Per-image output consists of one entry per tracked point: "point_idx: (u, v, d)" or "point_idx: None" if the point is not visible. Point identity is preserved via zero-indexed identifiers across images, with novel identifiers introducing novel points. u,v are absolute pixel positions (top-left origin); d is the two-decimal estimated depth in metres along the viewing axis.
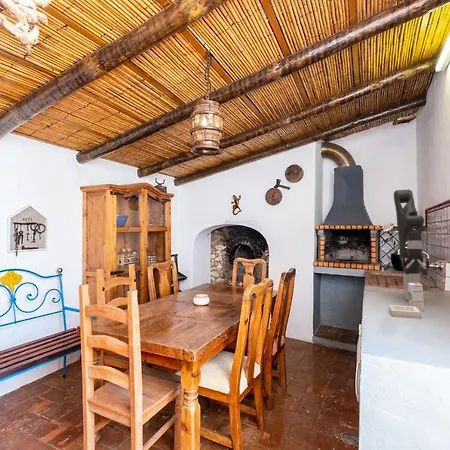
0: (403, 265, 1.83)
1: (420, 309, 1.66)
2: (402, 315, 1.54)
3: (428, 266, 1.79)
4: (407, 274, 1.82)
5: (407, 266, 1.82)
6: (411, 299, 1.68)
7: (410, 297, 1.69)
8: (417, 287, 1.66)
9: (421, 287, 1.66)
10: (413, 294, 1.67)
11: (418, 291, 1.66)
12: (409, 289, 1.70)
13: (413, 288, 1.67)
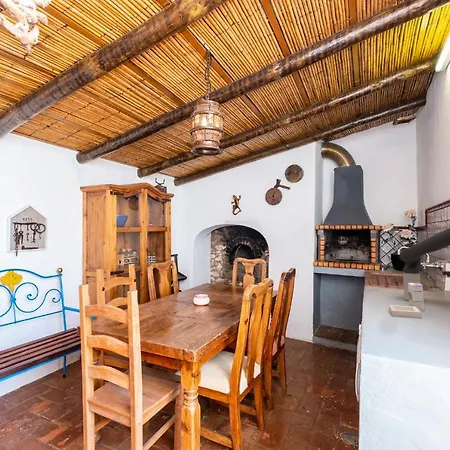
0: None
1: (420, 309, 1.66)
2: (402, 315, 1.54)
3: None
4: None
5: None
6: (411, 299, 1.68)
7: (410, 297, 1.69)
8: (417, 287, 1.66)
9: (421, 287, 1.66)
10: (413, 294, 1.67)
11: (418, 291, 1.66)
12: (409, 289, 1.70)
13: (413, 288, 1.67)
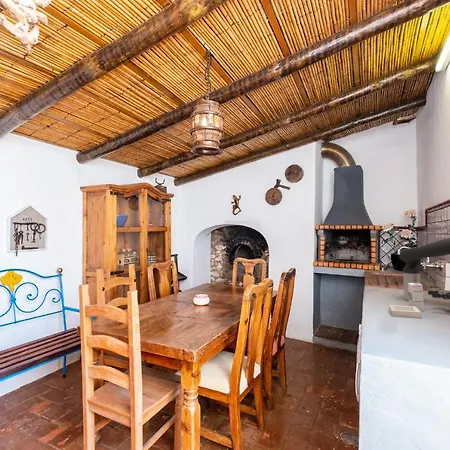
0: None
1: (420, 309, 1.66)
2: (402, 315, 1.54)
3: None
4: None
5: None
6: (411, 299, 1.68)
7: (410, 297, 1.69)
8: (417, 287, 1.66)
9: (421, 287, 1.66)
10: (413, 294, 1.67)
11: (418, 291, 1.66)
12: (409, 289, 1.70)
13: (413, 288, 1.67)
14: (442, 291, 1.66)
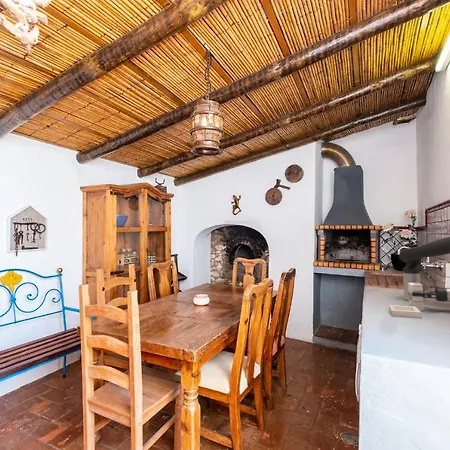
0: None
1: (420, 309, 1.66)
2: (402, 315, 1.54)
3: None
4: None
5: (423, 296, 1.64)
6: (411, 299, 1.68)
7: (410, 297, 1.69)
8: (417, 287, 1.66)
9: (421, 287, 1.66)
10: None
11: (418, 291, 1.66)
12: (409, 289, 1.70)
13: (413, 288, 1.67)
14: (423, 290, 1.69)
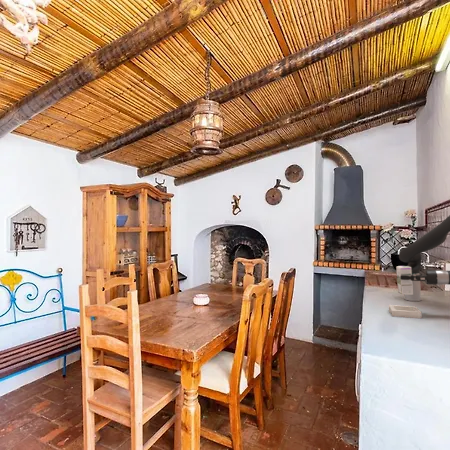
0: (414, 280, 1.53)
1: (409, 293, 1.57)
2: (402, 315, 1.54)
3: None
4: (401, 279, 1.57)
5: None
6: (400, 283, 1.59)
7: (399, 281, 1.60)
8: (406, 270, 1.58)
9: (410, 270, 1.57)
10: None
11: (407, 274, 1.57)
12: (397, 272, 1.61)
13: (401, 271, 1.58)
14: (413, 273, 1.60)
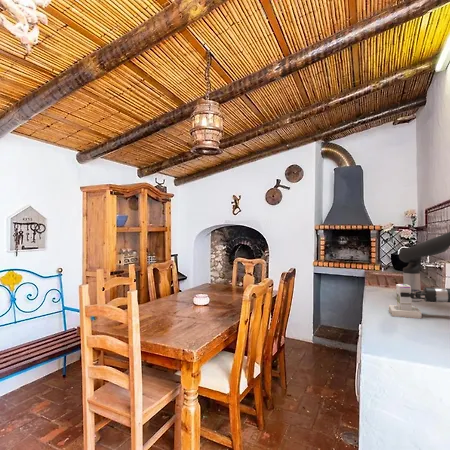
0: None
1: None
2: (402, 315, 1.54)
3: None
4: (401, 296, 1.56)
5: None
6: (399, 301, 1.58)
7: (398, 299, 1.60)
8: (405, 289, 1.57)
9: (409, 289, 1.56)
10: None
11: None
12: (397, 291, 1.61)
13: (401, 290, 1.57)
14: (412, 290, 1.60)
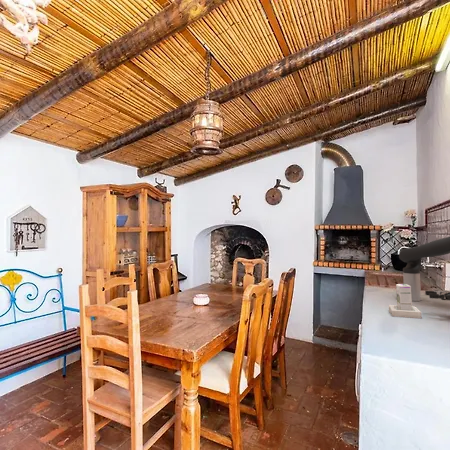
0: None
1: None
2: (402, 315, 1.54)
3: None
4: None
5: None
6: (399, 301, 1.58)
7: (398, 299, 1.60)
8: (405, 289, 1.57)
9: (409, 289, 1.56)
10: (401, 296, 1.57)
11: (406, 293, 1.57)
12: (397, 291, 1.61)
13: (401, 290, 1.57)
14: (440, 291, 1.55)
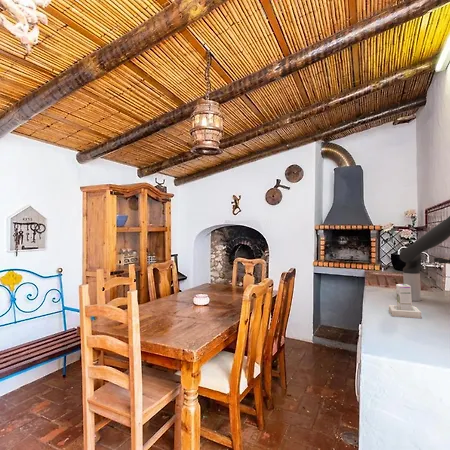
0: None
1: None
2: (402, 315, 1.54)
3: None
4: None
5: None
6: (399, 301, 1.58)
7: (398, 299, 1.60)
8: (405, 289, 1.57)
9: (409, 289, 1.56)
10: (401, 296, 1.57)
11: (406, 293, 1.57)
12: (397, 291, 1.61)
13: (401, 290, 1.57)
14: (449, 257, 1.61)
